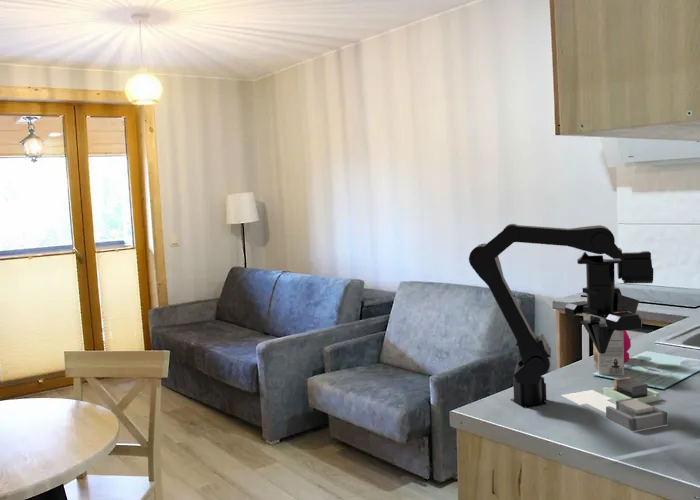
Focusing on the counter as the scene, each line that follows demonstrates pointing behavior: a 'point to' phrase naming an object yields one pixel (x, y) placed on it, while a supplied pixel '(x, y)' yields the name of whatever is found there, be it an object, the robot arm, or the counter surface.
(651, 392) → the pale green square tray
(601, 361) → the coffee box
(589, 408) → the long white tray
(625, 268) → the robot arm
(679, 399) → the counter surface
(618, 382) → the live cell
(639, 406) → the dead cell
